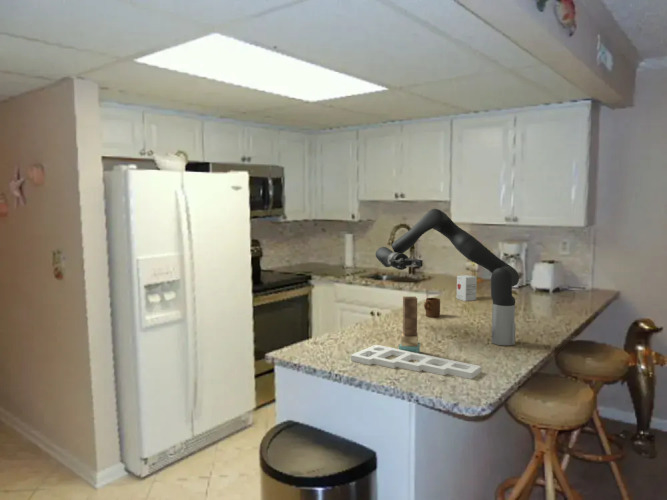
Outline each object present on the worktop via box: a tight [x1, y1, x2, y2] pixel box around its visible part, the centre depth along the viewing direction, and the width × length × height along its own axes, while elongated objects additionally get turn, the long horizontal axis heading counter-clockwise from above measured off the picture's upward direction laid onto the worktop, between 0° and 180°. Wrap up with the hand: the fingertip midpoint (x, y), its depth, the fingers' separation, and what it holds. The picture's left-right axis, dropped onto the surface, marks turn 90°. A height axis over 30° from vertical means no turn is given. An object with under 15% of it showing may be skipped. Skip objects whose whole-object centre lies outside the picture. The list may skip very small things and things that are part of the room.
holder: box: [350, 344, 482, 380], centre depth 183 cm, size 45×18×3 cm, turn 52°
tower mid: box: [400, 331, 419, 347], centre depth 199 cm, size 6×6×4 cm
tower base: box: [398, 341, 421, 354], centre depth 199 cm, size 7×7×4 cm
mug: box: [423, 297, 441, 318], centre depth 262 cm, size 12×8×9 cm, turn 138°
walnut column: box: [402, 296, 418, 336], centre depth 198 cm, size 5×5×15 cm
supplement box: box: [456, 274, 478, 302], centre depth 310 cm, size 9×9×15 cm
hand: (412, 264), depth 212 cm, fingers open, 8 cm apart
